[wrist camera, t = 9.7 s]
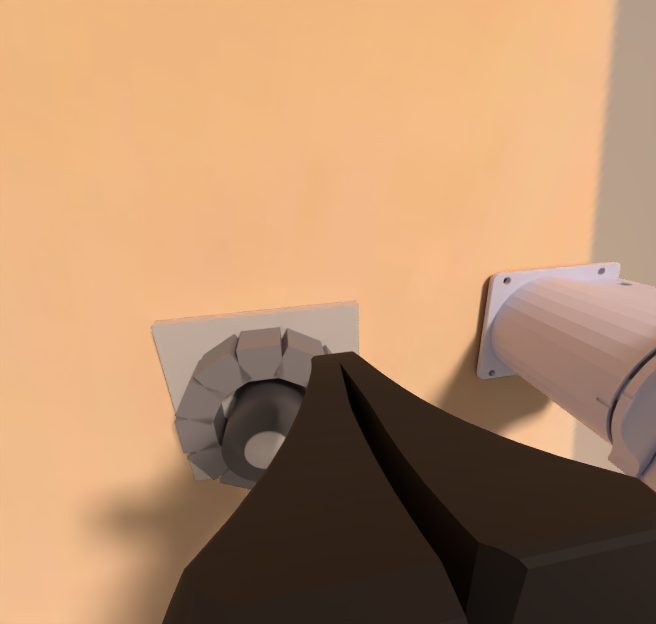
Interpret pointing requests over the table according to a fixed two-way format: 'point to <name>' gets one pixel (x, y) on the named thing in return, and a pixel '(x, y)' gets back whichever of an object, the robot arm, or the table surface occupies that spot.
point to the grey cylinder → (259, 424)
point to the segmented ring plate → (241, 366)
